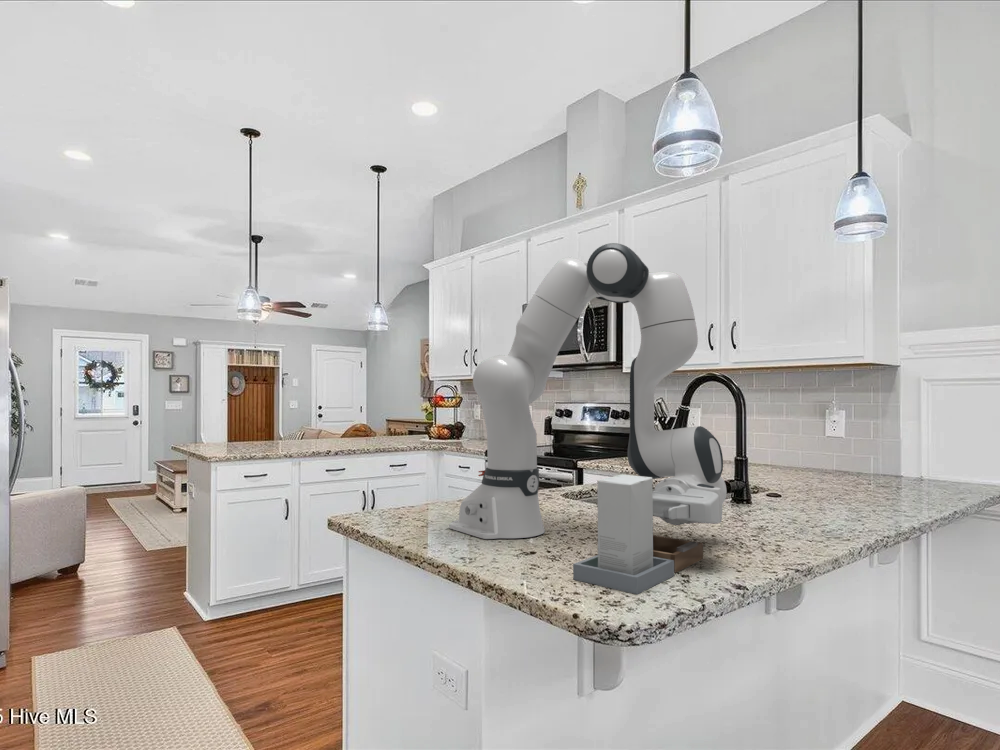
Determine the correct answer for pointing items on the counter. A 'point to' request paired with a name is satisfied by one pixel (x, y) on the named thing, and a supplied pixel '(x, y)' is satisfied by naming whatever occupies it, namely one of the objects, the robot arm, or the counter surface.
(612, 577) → the slate tray
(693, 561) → the walnut caddy
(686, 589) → the counter surface
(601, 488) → the skincare box
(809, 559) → the counter surface
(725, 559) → the counter surface
